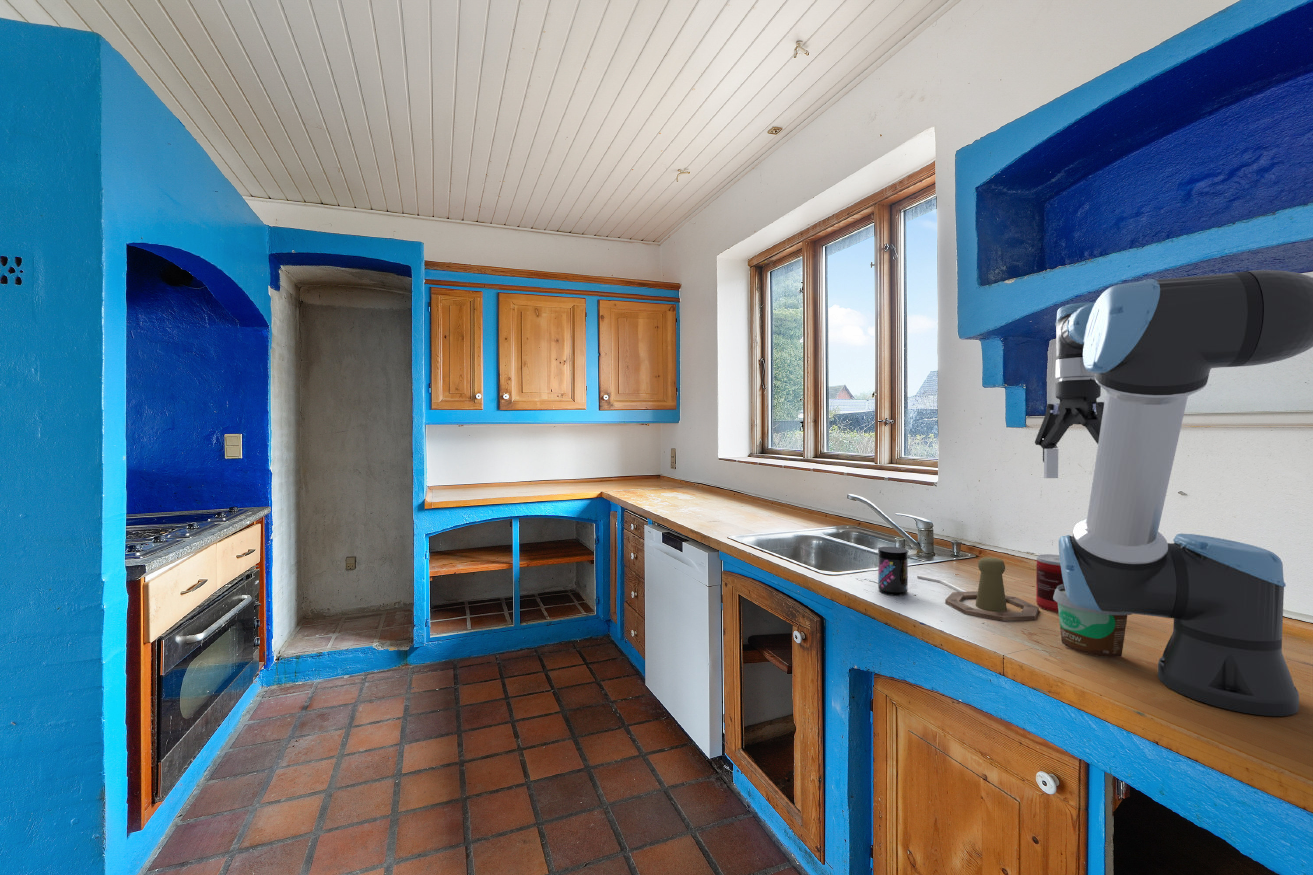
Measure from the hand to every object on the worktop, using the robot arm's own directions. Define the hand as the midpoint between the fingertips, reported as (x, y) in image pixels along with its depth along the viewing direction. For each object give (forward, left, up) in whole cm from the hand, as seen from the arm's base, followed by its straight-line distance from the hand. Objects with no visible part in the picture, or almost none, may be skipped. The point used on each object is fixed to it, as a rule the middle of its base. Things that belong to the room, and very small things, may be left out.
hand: (1076, 481), depth 117 cm
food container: (-15, +12, -29) cm, 35 cm away
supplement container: (+21, +29, -29) cm, 46 cm away
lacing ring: (+8, +13, -29) cm, 32 cm away
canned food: (+6, -1, -29) cm, 30 cm away
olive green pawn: (+8, +13, -29) cm, 33 cm away
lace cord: (+24, +15, -29) cm, 40 cm away
